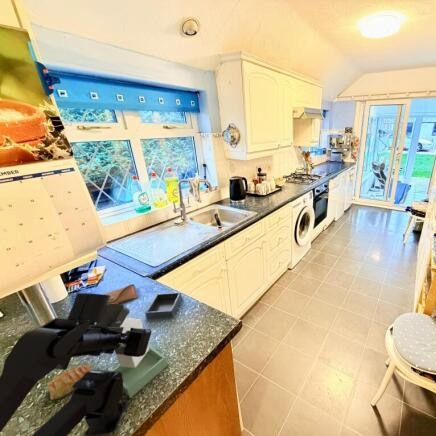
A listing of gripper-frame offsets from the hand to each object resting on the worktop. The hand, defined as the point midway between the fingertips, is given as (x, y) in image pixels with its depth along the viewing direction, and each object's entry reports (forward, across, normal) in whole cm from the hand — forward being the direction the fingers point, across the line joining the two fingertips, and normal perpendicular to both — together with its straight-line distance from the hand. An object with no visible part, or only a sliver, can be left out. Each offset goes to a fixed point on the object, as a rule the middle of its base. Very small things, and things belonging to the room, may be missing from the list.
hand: (134, 337), depth 68 cm
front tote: (+8, 0, +10) cm, 13 cm away
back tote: (+27, +9, -9) cm, 29 cm away
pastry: (+4, +18, +14) cm, 23 cm away
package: (+4, 0, +6) cm, 7 cm away
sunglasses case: (+27, +32, -9) cm, 43 cm away
